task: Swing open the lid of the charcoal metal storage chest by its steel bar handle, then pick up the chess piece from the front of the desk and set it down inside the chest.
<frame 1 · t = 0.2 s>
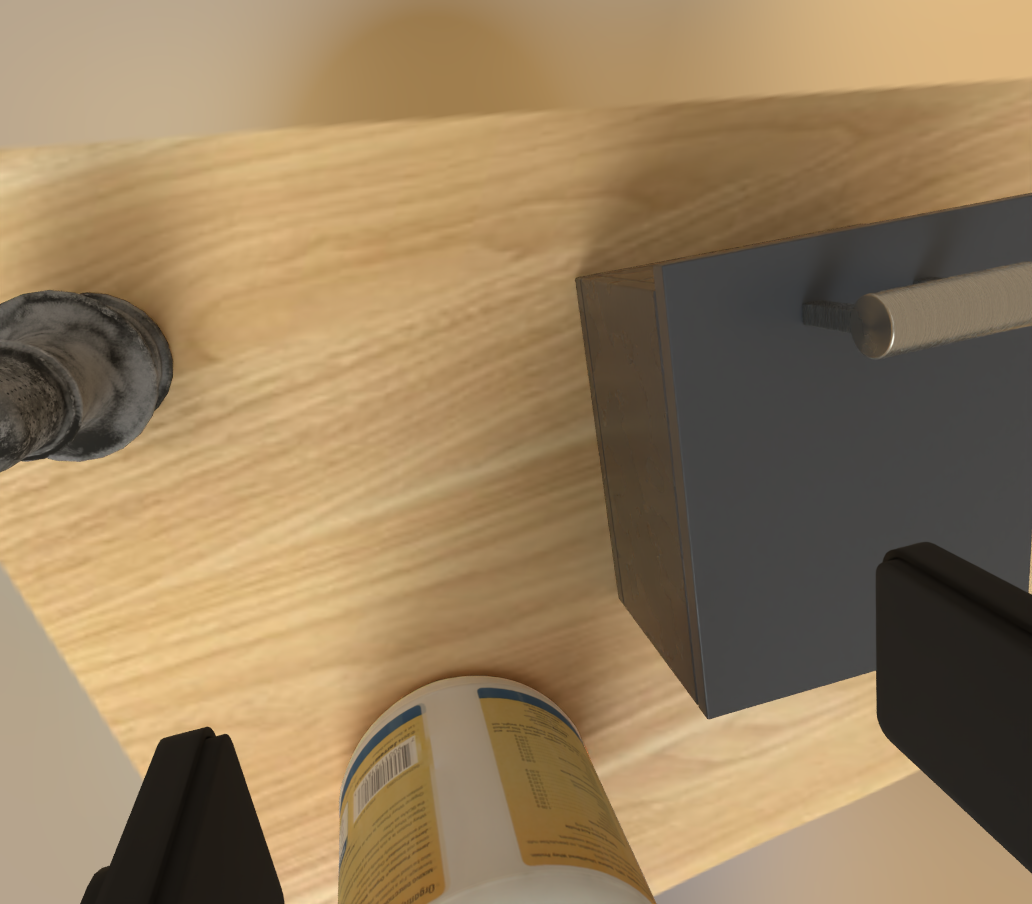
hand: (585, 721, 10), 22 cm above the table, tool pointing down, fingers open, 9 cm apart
lid: (907, 487, 23), point 11 cm above the table, hinge at 0.0°
supplement tub: (463, 768, 37), on the table
chest: (734, 418, 34), on the table
chess piece: (100, 361, 28), on the table
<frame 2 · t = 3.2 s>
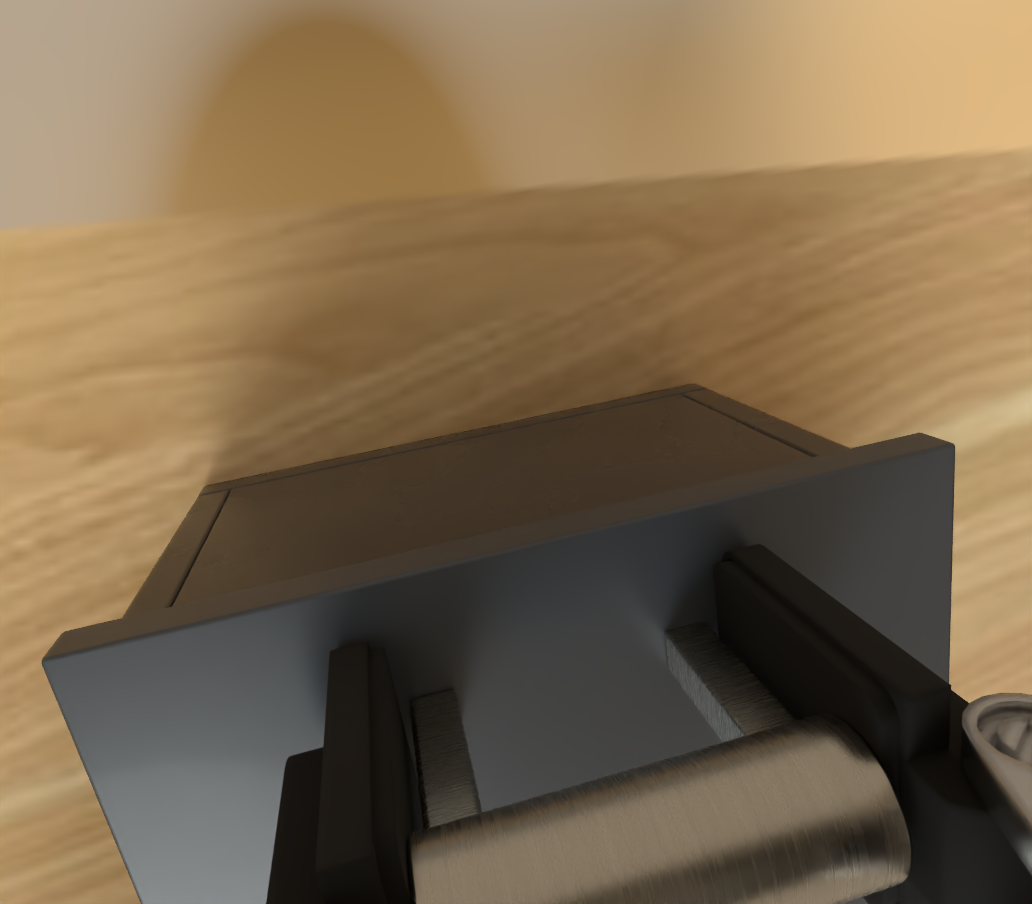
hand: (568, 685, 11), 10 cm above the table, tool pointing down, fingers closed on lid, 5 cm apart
chest: (507, 675, 22), on the table
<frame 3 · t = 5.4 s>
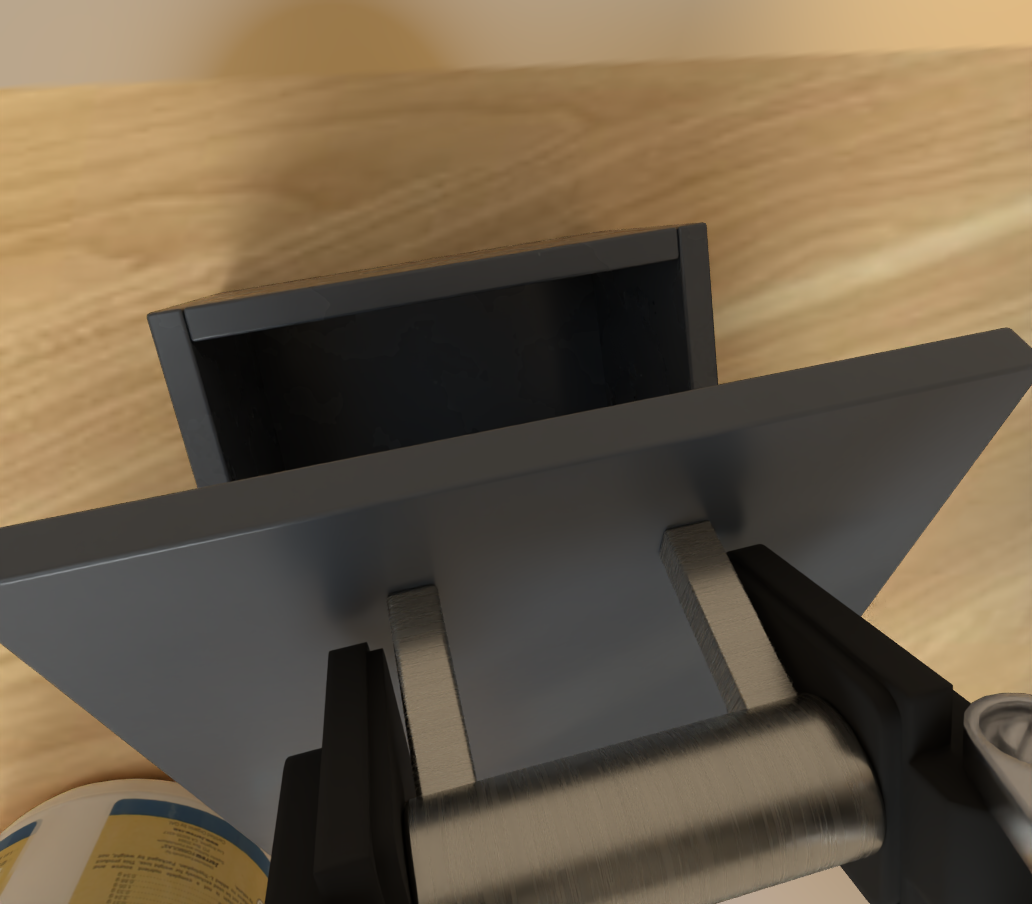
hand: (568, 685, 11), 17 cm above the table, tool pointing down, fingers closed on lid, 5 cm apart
lid: (571, 809, 14), point 16 cm above the table, hinge at 33.7°, touching gripper
supplement tub: (141, 885, 30), on the table
chest: (456, 468, 28), on the table
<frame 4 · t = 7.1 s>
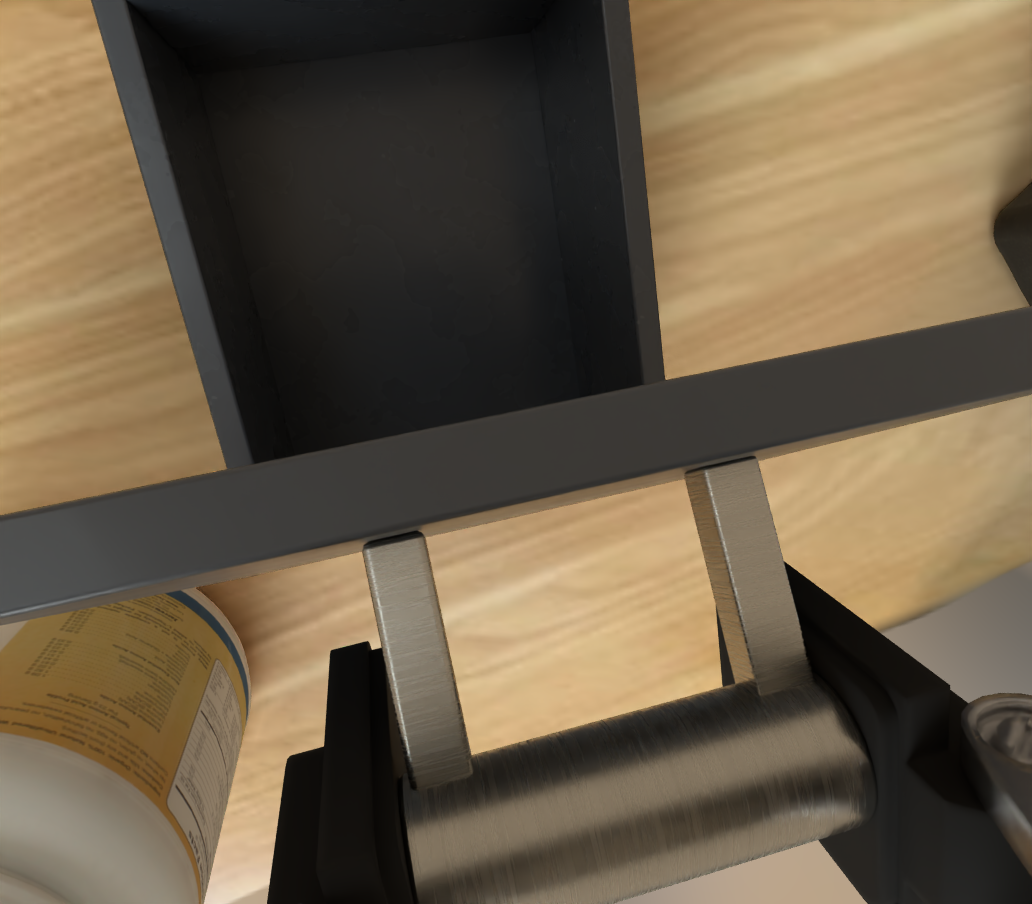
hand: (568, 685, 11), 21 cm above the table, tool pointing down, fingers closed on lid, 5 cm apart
lid: (526, 606, 14), point 18 cm above the table, hinge at 67.2°, touching gripper
supplement tub: (109, 674, 31), on the table
chest: (406, 253, 29), on the table
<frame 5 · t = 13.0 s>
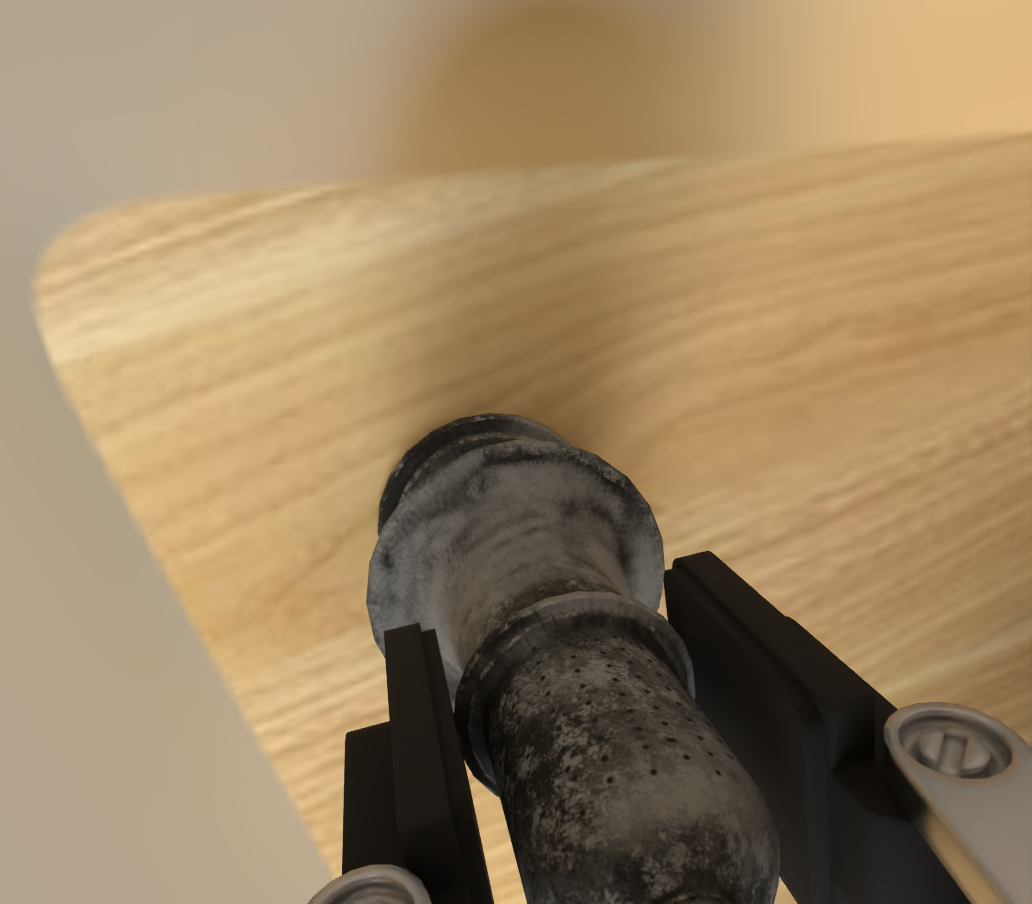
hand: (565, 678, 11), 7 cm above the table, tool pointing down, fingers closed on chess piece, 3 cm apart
chess piece: (488, 518, 18), on the table, touching gripper
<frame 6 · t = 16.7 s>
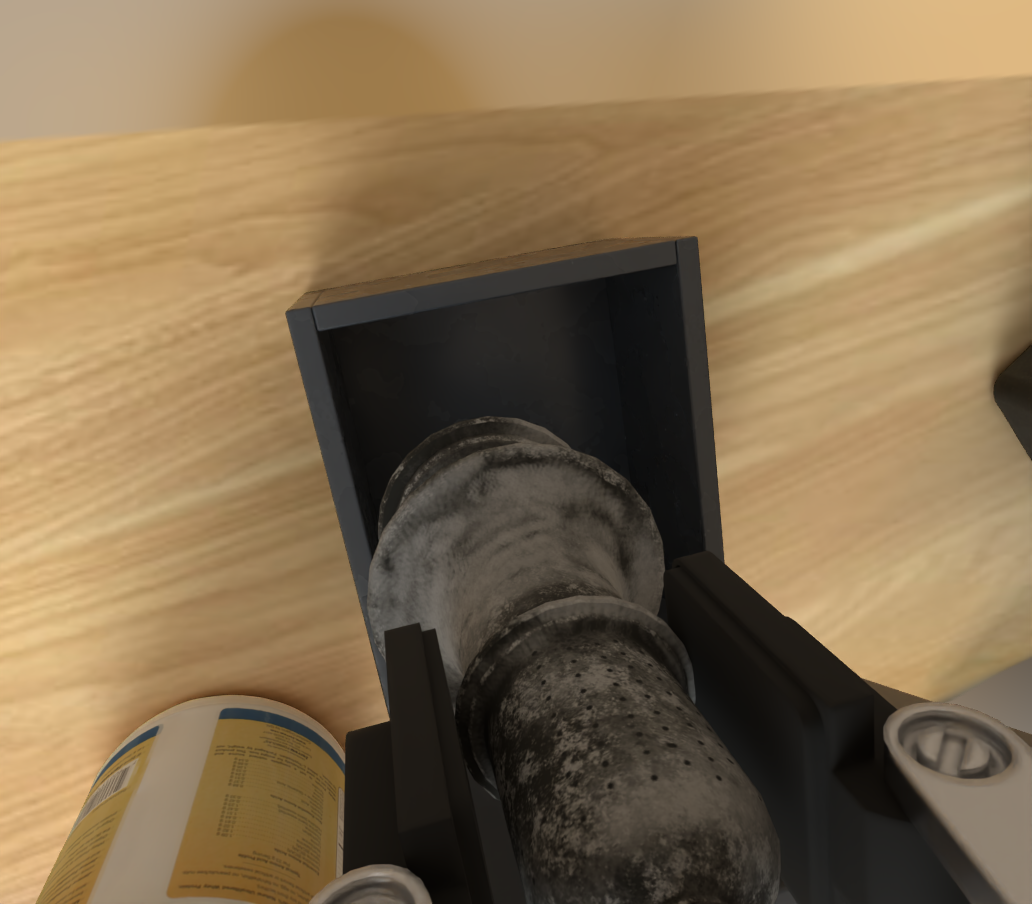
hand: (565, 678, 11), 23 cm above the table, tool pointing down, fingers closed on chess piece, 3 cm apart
lid: (653, 840, 19), point 18 cm above the table, hinge at 67.6°
supplement tub: (233, 788, 36), on the table
chest: (493, 435, 34), on the table
chess piece: (489, 521, 18), point 16 cm above the table, touching gripper
when the fingers open (7 cm above the table, at t = 20.6 s): chess piece stays where it is, resting on chest.
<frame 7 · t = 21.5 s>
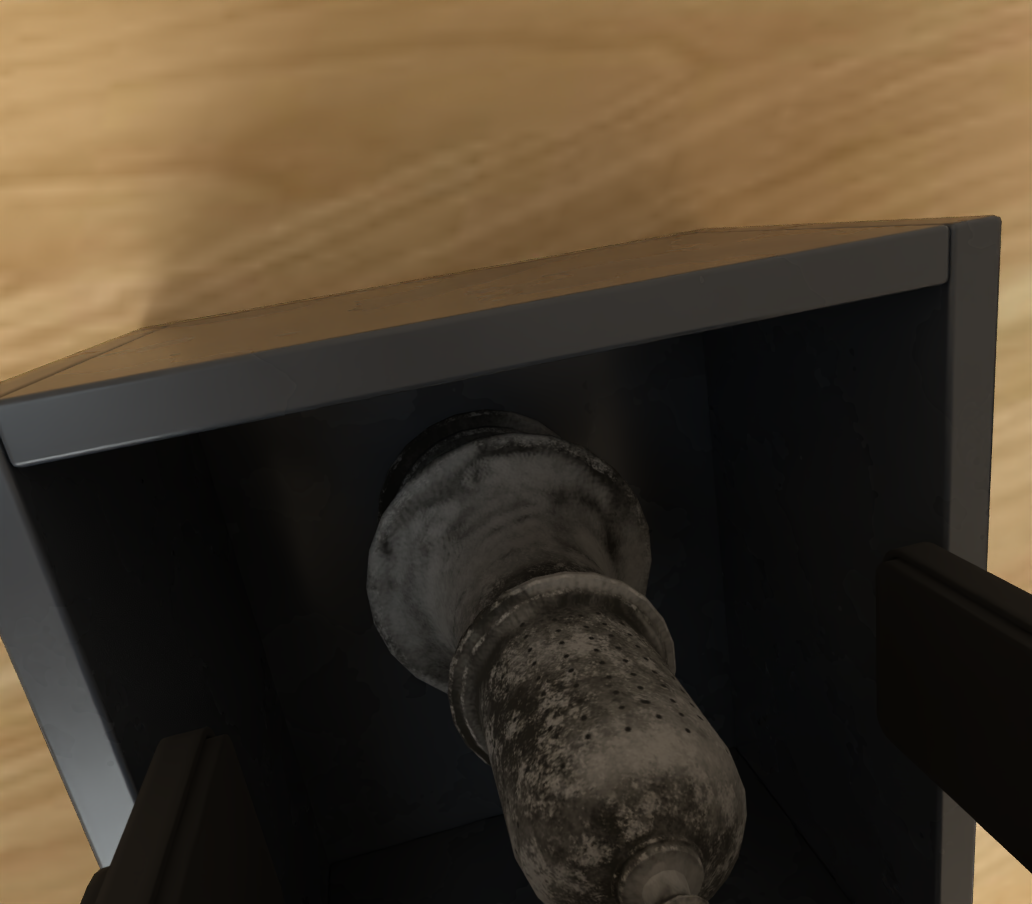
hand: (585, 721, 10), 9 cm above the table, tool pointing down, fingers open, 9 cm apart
chest: (495, 571, 19), on the table
chess piece: (484, 510, 18), point 1 cm above the table, touching chest
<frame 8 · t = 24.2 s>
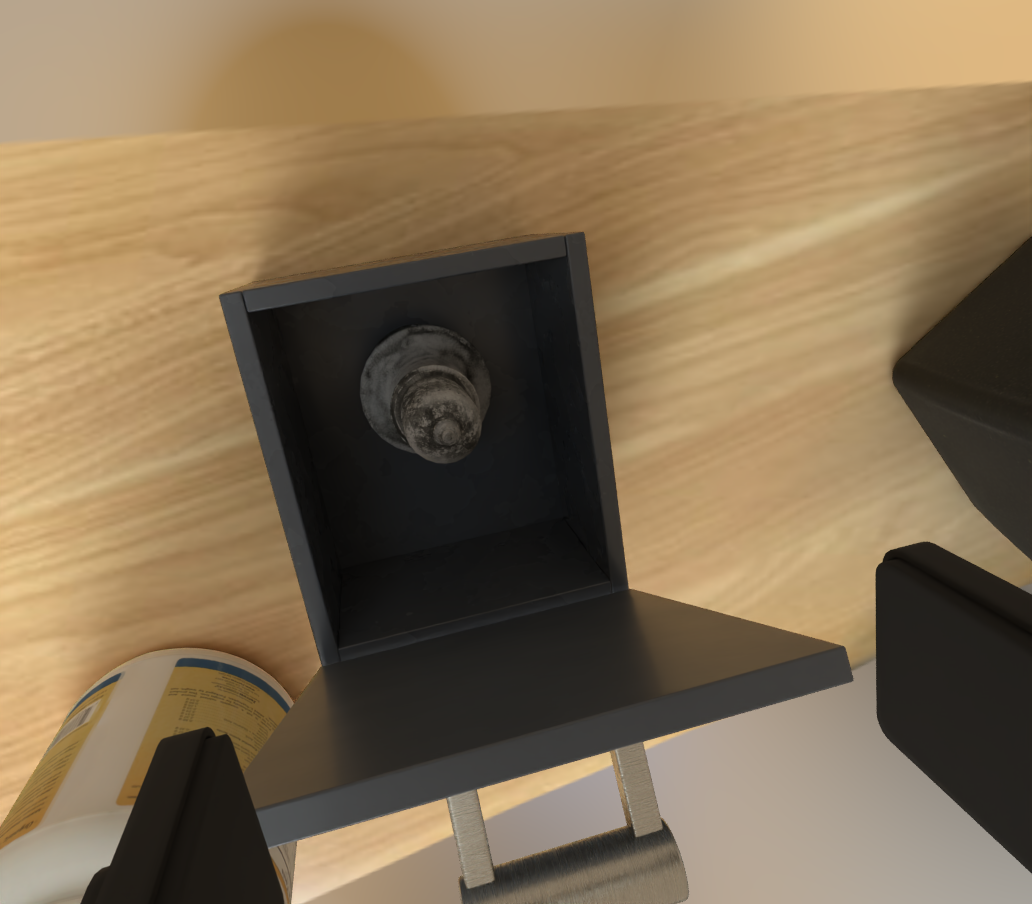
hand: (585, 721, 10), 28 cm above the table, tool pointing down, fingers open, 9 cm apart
lid: (520, 742, 23), point 18 cm above the table, hinge at 67.6°
flower pot: (1009, 374, 44), on the table
supplement tub: (193, 735, 40), on the table
chest: (427, 412, 37), on the table
chess piece: (419, 376, 36), point 1 cm above the table, touching chest
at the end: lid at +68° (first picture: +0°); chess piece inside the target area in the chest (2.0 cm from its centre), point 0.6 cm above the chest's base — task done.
